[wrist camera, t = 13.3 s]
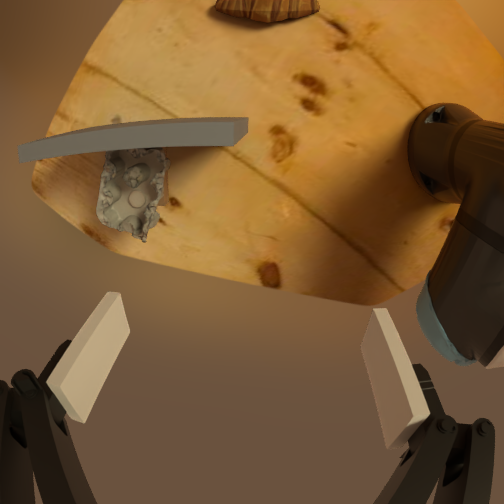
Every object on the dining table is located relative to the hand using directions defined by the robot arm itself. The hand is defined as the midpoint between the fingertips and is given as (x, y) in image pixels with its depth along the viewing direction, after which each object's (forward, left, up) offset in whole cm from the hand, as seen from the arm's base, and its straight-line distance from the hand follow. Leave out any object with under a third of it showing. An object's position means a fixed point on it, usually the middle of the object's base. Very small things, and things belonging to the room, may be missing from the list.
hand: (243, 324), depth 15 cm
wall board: (+14, -4, -29) cm, 32 cm away
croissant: (0, -26, -29) cm, 39 cm away
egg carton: (+14, -2, -21) cm, 25 cm away
